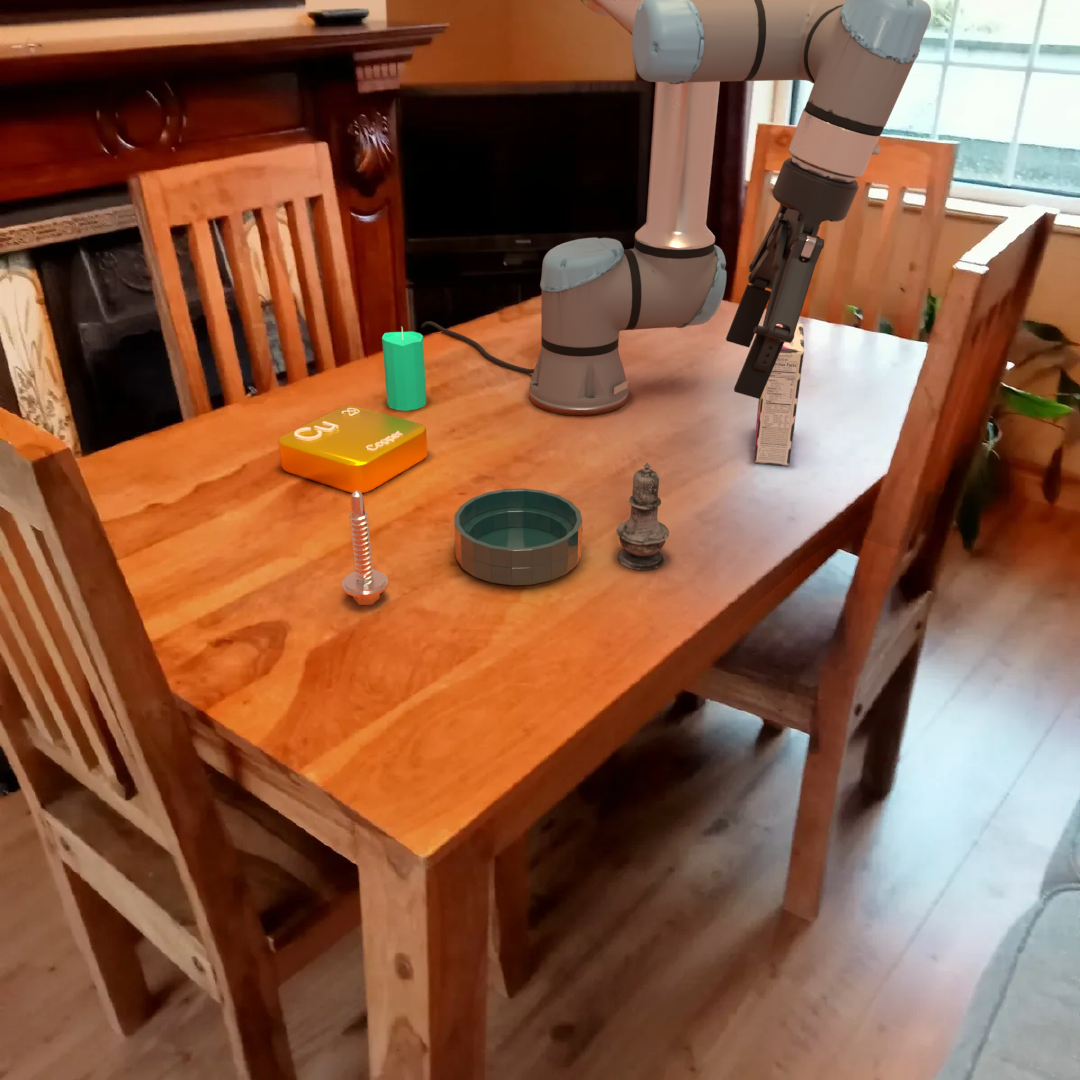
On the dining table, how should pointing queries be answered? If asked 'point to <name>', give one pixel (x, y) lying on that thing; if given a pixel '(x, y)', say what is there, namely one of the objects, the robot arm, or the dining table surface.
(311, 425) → the element tile
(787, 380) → the candy bar box
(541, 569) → the bowl
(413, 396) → the candle
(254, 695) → the dining table surface
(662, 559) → the salt shaker
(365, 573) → the screw
